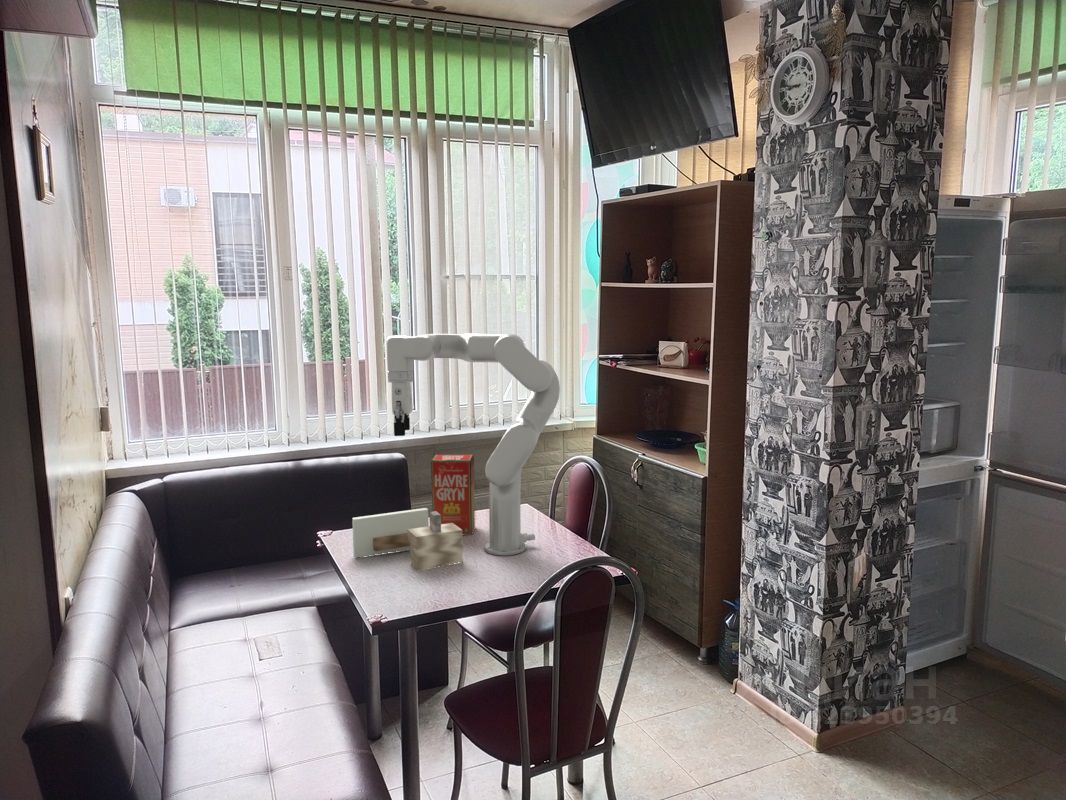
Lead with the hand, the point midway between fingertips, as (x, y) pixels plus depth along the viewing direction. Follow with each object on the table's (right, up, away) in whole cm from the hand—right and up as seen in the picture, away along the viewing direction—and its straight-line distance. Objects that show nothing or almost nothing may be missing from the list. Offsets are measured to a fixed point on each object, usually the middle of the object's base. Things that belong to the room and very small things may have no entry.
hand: (402, 432), depth 230 cm
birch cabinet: (+11, -38, -9) cm, 40 cm away
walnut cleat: (-2, -35, -1) cm, 35 cm away
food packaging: (+13, -34, +21) cm, 42 cm away
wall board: (-3, -36, +1) cm, 36 cm away
